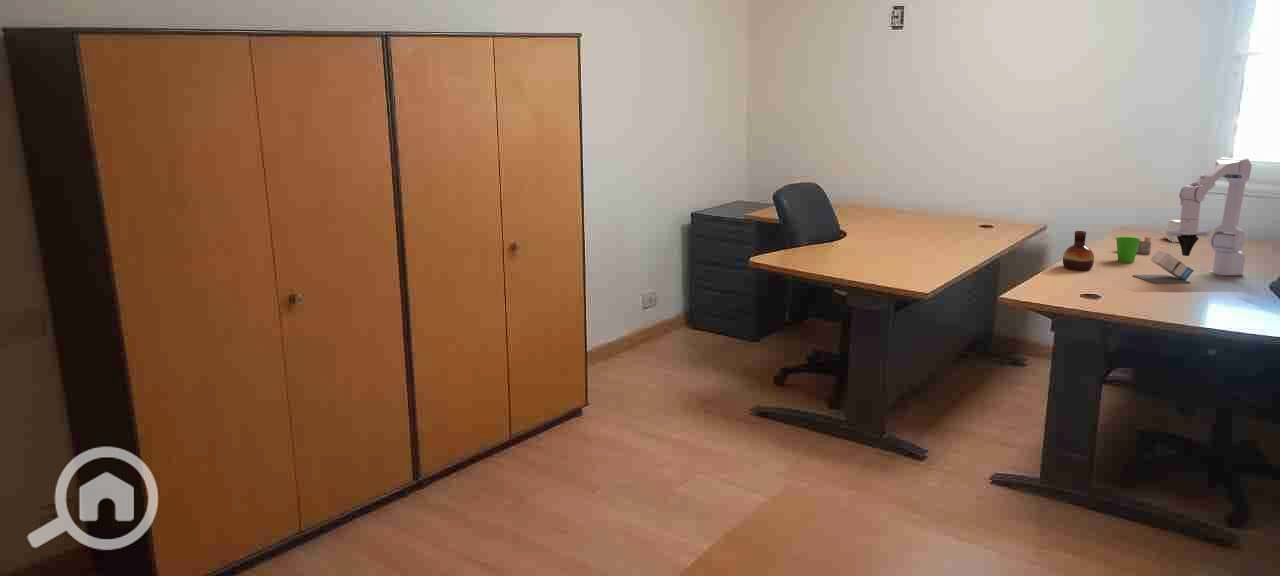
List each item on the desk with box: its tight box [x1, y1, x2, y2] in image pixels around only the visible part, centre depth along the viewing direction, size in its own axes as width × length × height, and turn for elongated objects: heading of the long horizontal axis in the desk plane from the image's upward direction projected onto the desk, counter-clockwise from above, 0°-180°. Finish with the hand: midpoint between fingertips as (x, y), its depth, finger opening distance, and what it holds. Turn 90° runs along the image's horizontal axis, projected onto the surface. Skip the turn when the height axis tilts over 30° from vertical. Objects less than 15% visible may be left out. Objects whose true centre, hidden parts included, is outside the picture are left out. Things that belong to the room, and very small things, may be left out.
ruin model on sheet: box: [1136, 236, 1152, 255], centre depth 384 cm, size 11×3×10 cm, turn 59°
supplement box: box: [1166, 219, 1180, 243], centre depth 407 cm, size 7×7×13 cm
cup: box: [1115, 236, 1142, 264], centre depth 366 cm, size 9×9×11 cm
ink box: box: [1150, 249, 1194, 281], centre depth 336 cm, size 9×5×12 cm
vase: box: [1062, 230, 1095, 272], centre depth 355 cm, size 11×11×15 cm
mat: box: [1132, 274, 1191, 284], centre depth 336 cm, size 13×15×1 cm
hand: (1185, 255), depth 334 cm, fingers closed
